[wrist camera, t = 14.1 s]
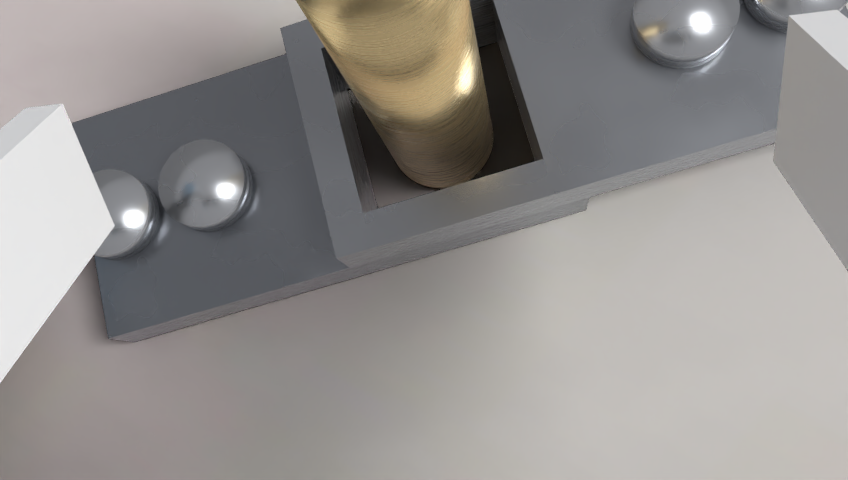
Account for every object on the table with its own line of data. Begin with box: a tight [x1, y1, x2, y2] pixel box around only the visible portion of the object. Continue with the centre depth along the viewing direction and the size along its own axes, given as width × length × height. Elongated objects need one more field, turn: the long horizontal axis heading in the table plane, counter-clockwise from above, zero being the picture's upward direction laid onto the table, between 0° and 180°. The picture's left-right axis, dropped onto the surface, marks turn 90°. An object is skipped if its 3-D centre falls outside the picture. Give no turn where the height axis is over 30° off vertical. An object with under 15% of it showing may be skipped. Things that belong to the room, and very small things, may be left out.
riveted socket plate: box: [72, 0, 848, 342], centre depth 22 cm, size 23×7×4 cm, turn 105°
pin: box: [296, 0, 493, 188], centre depth 19 cm, size 3×3×11 cm
